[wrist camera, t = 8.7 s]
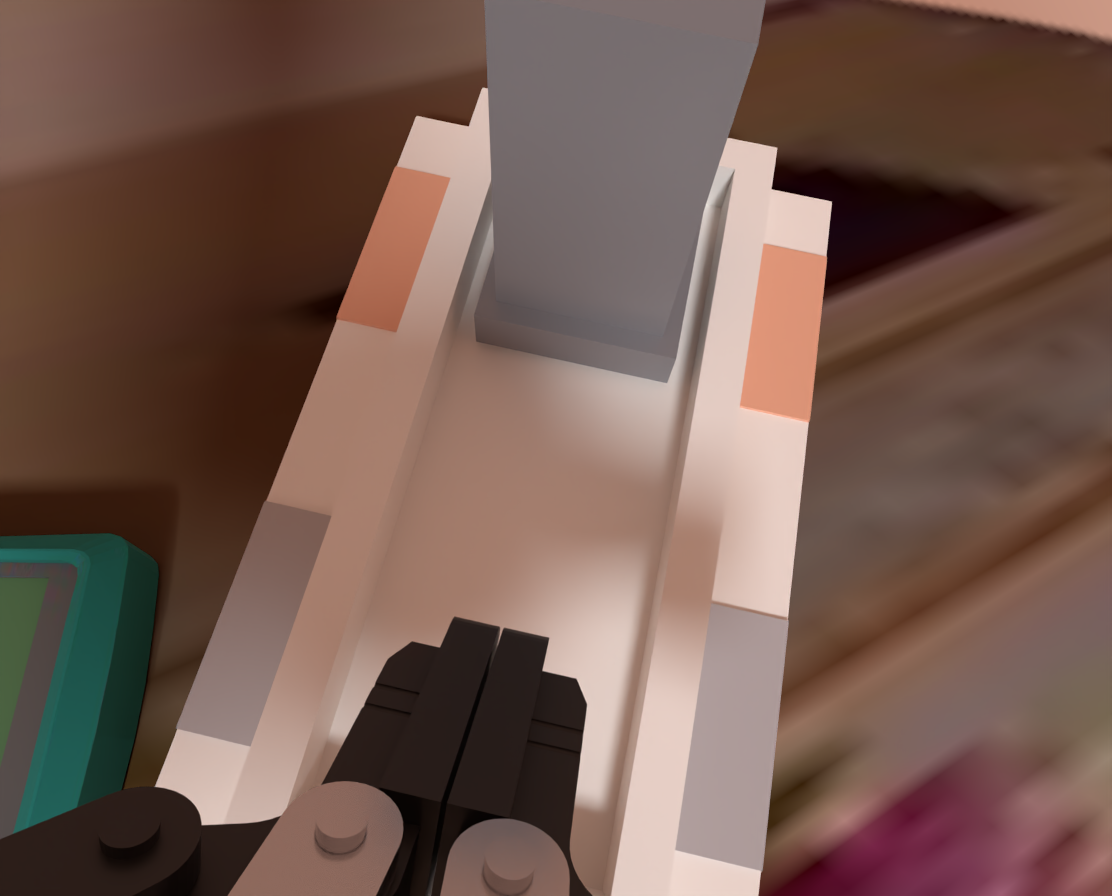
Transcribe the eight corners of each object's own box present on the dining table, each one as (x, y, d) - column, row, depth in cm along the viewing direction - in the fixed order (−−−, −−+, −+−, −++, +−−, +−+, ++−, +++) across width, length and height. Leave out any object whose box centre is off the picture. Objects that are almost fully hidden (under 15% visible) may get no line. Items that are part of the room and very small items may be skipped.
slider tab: (476, 341, 20) (448, 7, 11) (523, 186, 22) (528, -197, 13) (667, 383, 20) (781, 75, 11) (697, 222, 22) (814, -143, 13)
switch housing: (175, 831, 17) (99, 839, 14) (423, 165, 25) (410, 72, 22) (723, 967, 17) (771, 1008, 14) (808, 246, 24) (852, 163, 21)
